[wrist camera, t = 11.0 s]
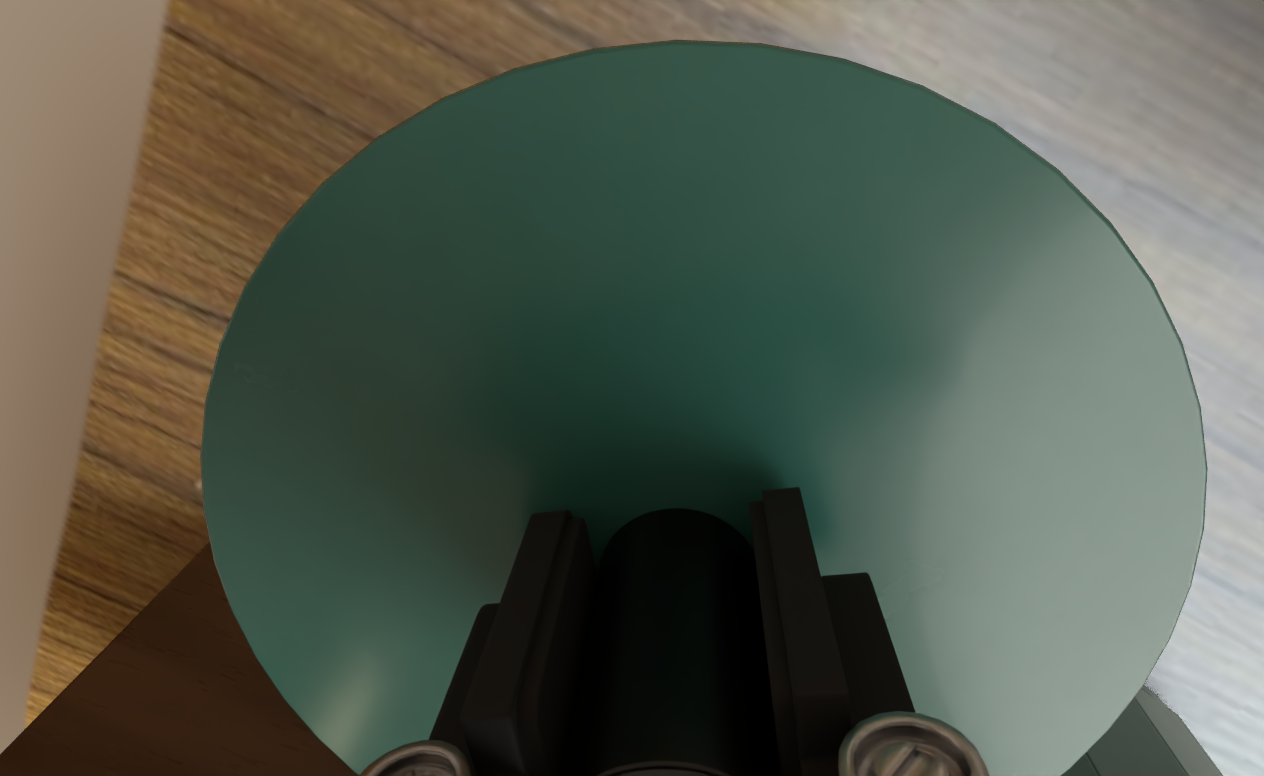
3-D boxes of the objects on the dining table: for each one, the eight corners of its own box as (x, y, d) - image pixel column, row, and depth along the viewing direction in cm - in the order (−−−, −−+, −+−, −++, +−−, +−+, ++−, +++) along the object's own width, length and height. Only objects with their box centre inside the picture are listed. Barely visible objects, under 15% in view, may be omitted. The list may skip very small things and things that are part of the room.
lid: (383, 854, 17) (240, 1220, 11) (92, 139, 11) (-447, 214, 6) (1121, 824, 15) (1355, 1247, 9) (1221, -61, 9) (1926, -215, 4)
